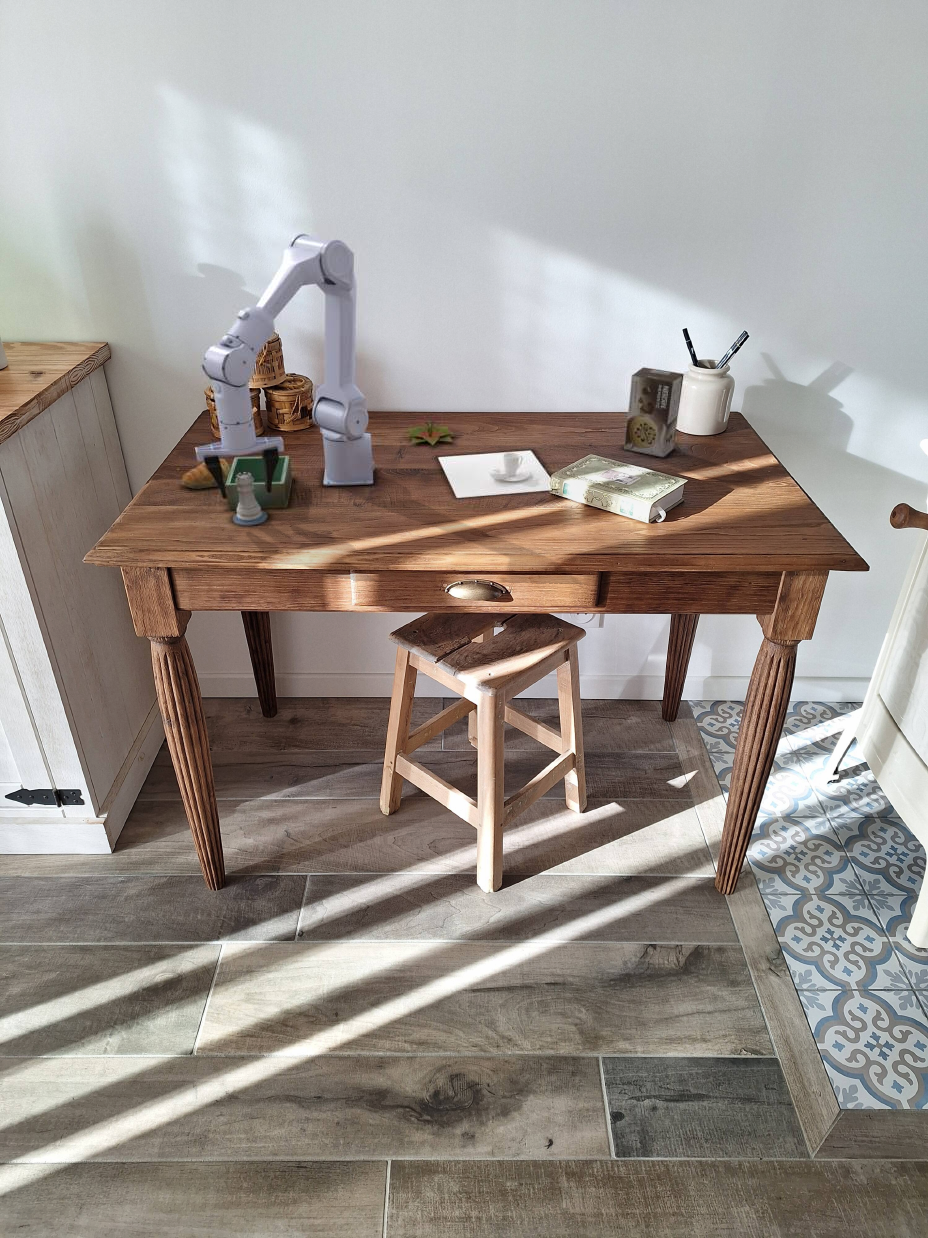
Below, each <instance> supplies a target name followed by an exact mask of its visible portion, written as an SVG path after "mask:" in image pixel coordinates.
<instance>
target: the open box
mask: <svg viewBox="0 0 928 1238" xmlns="http://www.w3.org/2000/svg"><path fill="white" fill-rule="evenodd" d="M230 469H231V470H230V473H229V476H228V479H227V482H226V484H224V486H225V490H226V494H227V504H228V510H231V511H233V510H235V511H236V510H237V507H238V504H239V490H238V484H237V483H236V482H235V480H236V478H237V477H236V475H238V474H239V473H241V475H244V474H243V472H246V475H248V473H250V474H251V476H252V477H253V478H254V481H253V483H252V486H253V487H254V489H253V493H254V496H255V500H256V501H257V502H258V504H259V505H260V507H261V510H263V509H286V508H288V504H289V498H290V494H291V487H292V482H293V475H292V466H291V457H290V455H279V462H278V464H277V466H276V469H275V472H274V475H273V480H272V487H271V492H270V493H267V490H266V487H265V478H264V466H263V460H262V456H239V457H238V456H234V459H233V462H232V464H231V468H230Z"/></svg>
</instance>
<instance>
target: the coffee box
mask: <svg viewBox="0 0 928 1238" xmlns="http://www.w3.org/2000/svg"><path fill="white" fill-rule="evenodd" d="M684 375H685V374H684V373H682V372H675V371H669V370H662V369H657V368H651V367H644V366H643V367H641V368H639V370H637V371H636V372H635V373H633V374H631V379H630V388H629V389H630V390H629V402H628V409H627V420H626V427H625V428H626V429H625V436H624V437H625V438H624V445H623V446H624V447H623V449H624V450H626V451H630V452H631V451H632V452H636V453H641V454H645V455H650V456H655V457H659V458H664V457H665V456H667V455H668V454H669V453H670V452H672V451H673V450H674V447H675V438H676V431H677V424H678V417H679V411H680V404H681V395H682V390H683V383H684Z"/></svg>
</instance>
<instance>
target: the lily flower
mask: <svg viewBox="0 0 928 1238" xmlns="http://www.w3.org/2000/svg"><path fill="white" fill-rule="evenodd" d="M423 418H424V419H425V420H426V421H425V420H423V419H422V418H418V419H419V420H420V421H421V424H420V426H421V427H411V428H410V427H408V428H407V429H408V430H409V432H408V433H406V435H404V437H411V436H412V438H411V444H416V443H421V442H428V443H429V444H431V446H434V445H435V444H436V442H438V441H439V442H440V441H441V442H442V441H443V442H450V443H452V442H453V440H452V437H450V436H448V435H456V433H454V432H453V431H451V430H449V428H448V426H438V425H440V424H441V422H439V420H438V417H435V416H433V417H432V418H431V421H428V419H427V418H426V416H423ZM437 422H438V423H437ZM436 423H437V424H436ZM435 424H436V425H435Z"/></svg>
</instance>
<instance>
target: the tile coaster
mask: <svg viewBox="0 0 928 1238" xmlns="http://www.w3.org/2000/svg"><path fill="white" fill-rule="evenodd" d="M261 512H262V515H261V517H260V518H259V519H257V520H254V521H242V520H240V519H239V518H238V517H237V513H235V514H234V515H233V516H232V521H233V523H234V524H236V525H239V526H244V527H251V526H256V525H257V526H258V525H260V524H262V523H264V522H265V521H266V520H267V519H268V514H267V512H266V511H264V510H261Z"/></svg>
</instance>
